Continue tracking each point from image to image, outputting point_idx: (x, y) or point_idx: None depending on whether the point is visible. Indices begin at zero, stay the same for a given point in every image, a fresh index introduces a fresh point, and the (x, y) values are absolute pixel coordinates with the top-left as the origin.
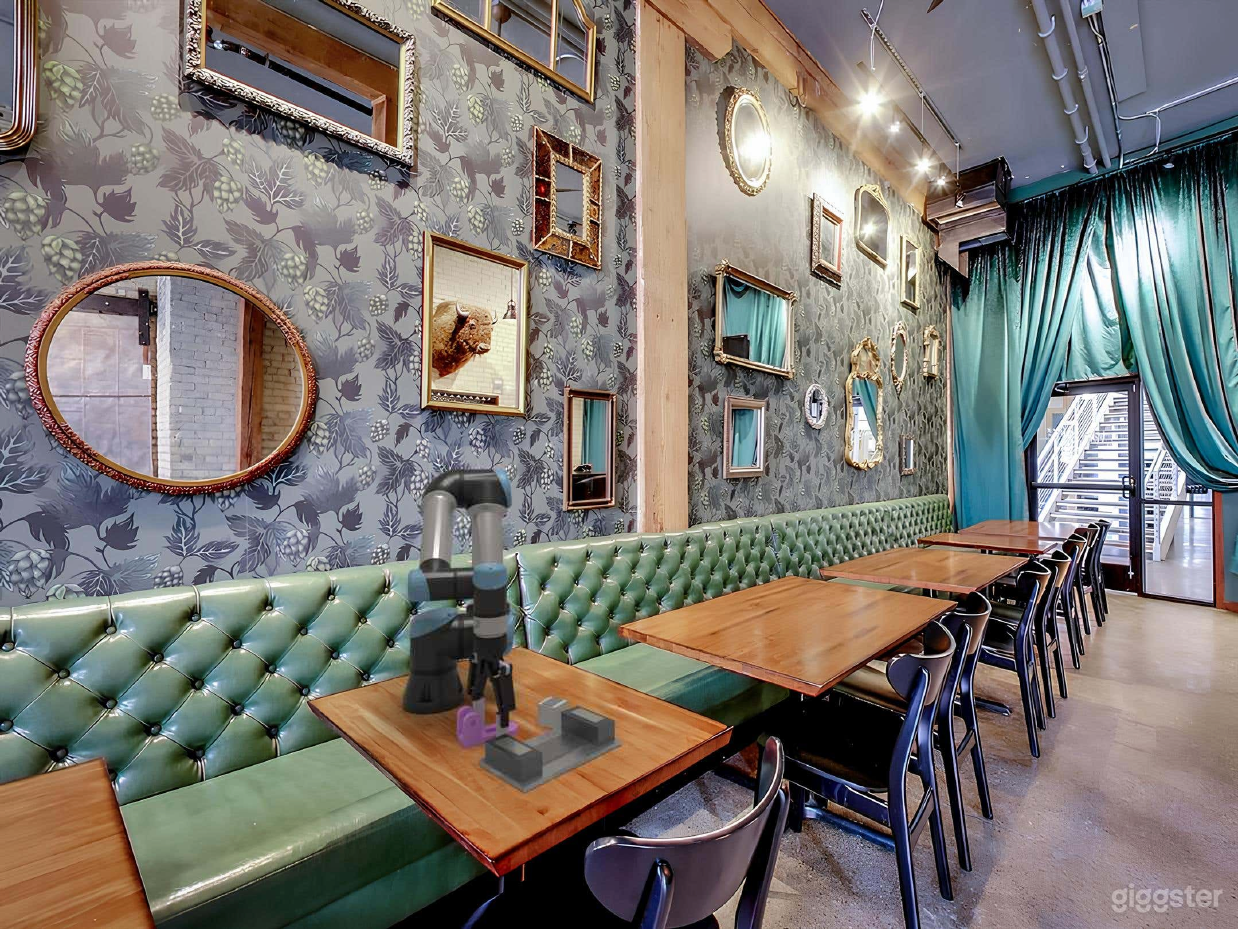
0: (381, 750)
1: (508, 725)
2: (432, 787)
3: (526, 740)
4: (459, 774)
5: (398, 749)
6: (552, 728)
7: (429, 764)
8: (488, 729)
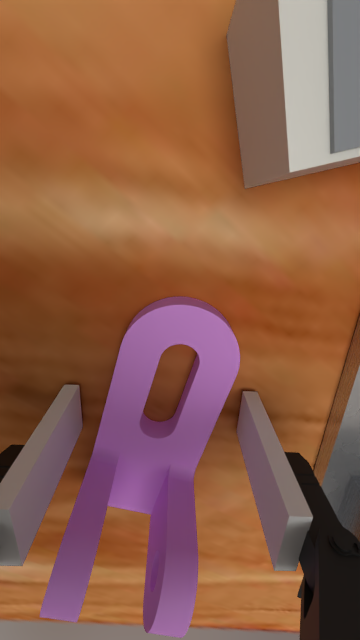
0: (11, 608)
1: (303, 460)
2: (282, 611)
3: (357, 378)
4: None
5: (35, 588)
6: (349, 164)
7: None
8: (140, 416)
